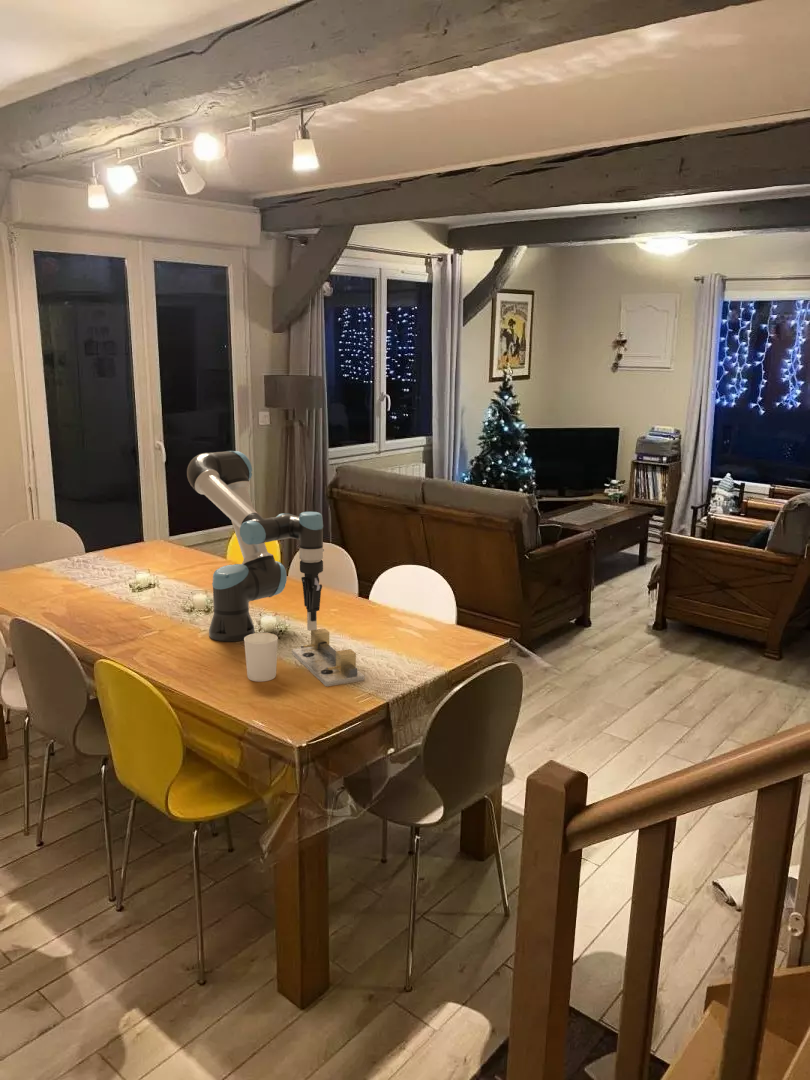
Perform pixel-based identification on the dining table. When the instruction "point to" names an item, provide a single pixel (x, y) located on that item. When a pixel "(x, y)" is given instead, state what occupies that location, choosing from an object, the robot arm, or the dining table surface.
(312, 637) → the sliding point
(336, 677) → the bolt plate
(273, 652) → the candle holder
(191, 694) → the dining table surface
